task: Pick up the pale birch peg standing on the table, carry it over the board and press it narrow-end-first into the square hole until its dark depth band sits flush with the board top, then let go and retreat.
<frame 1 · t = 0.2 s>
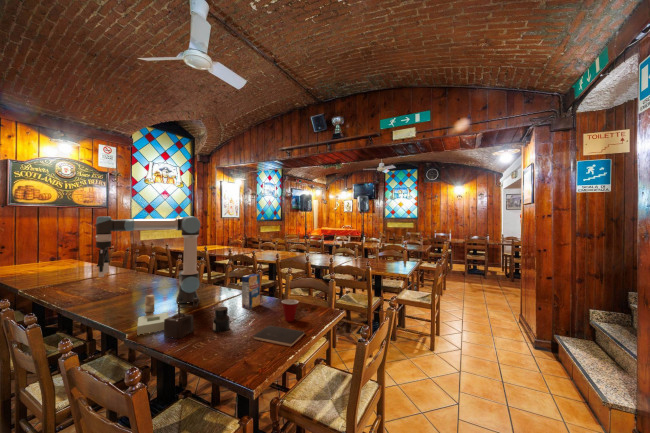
hand: (103, 274, 172), 28 cm above the table, fingers open, 13 cm apart
board: (153, 327, 159), on the table
peg: (149, 319, 171), on the table
hardcover book: (279, 338, 149), on the table
ink bottle: (221, 329, 157), on the table
plastic cup: (290, 320, 173), on the table
blue yellow cereal box: (250, 306, 199), on the table
dark boxy piece: (183, 332, 153), on the table
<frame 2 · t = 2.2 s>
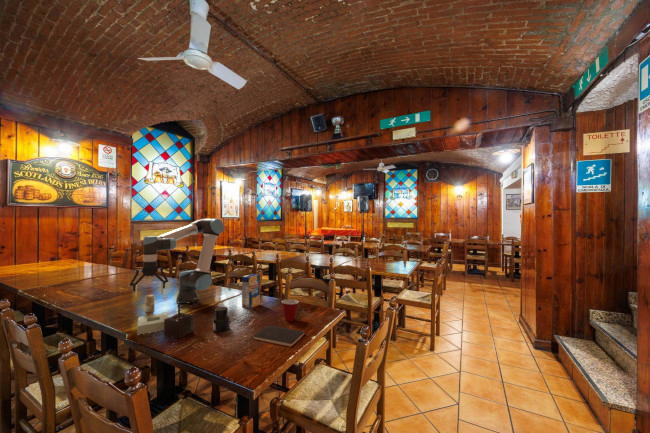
hand: (149, 295, 171), 16 cm above the table, fingers open, 13 cm apart
nothing on the table moved.
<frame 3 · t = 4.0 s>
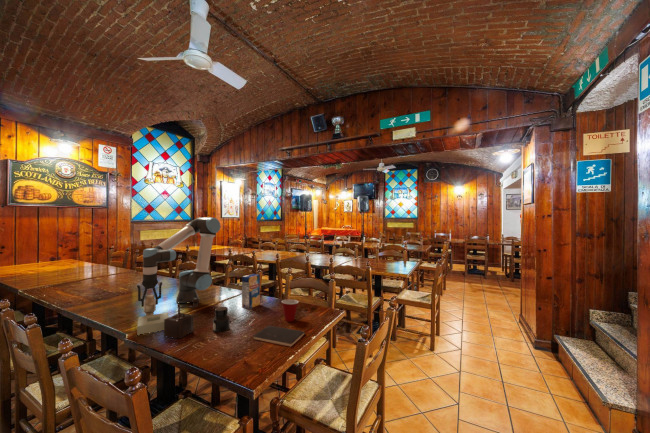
hand: (149, 310, 171), 6 cm above the table, fingers closed on peg, 5 cm apart
peg: (149, 319, 171), on the table, touching gripper
everything else where it was.
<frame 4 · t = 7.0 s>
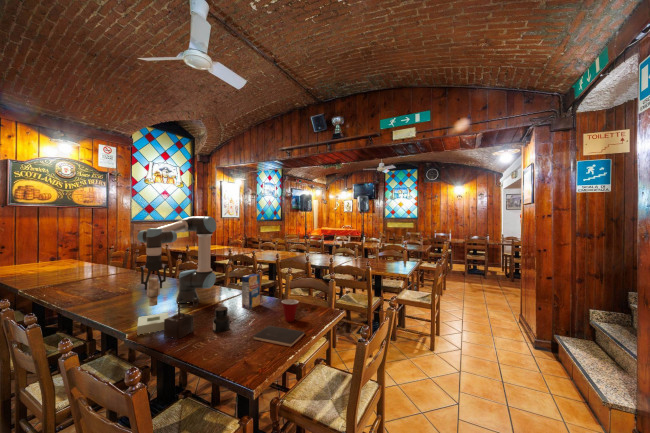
hand: (153, 294, 159), 19 cm above the table, fingers closed on peg, 5 cm apart
peg: (153, 304, 159), point 13 cm above the table, touching gripper
everything else where it was.
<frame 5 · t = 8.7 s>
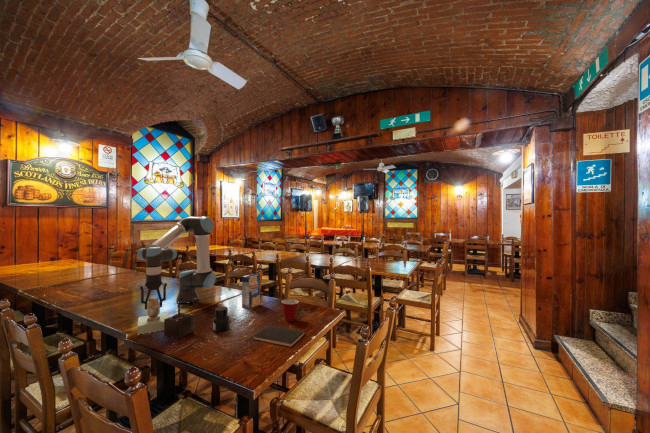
hand: (153, 313, 159), 8 cm above the table, fingers closed on peg, 5 cm apart
peg: (153, 324, 159), point 2 cm above the table, touching gripper
everything else where it was.
when the fingers open (6 cm above the table, at t = 10.0 s): peg stays where it is, resting in board.
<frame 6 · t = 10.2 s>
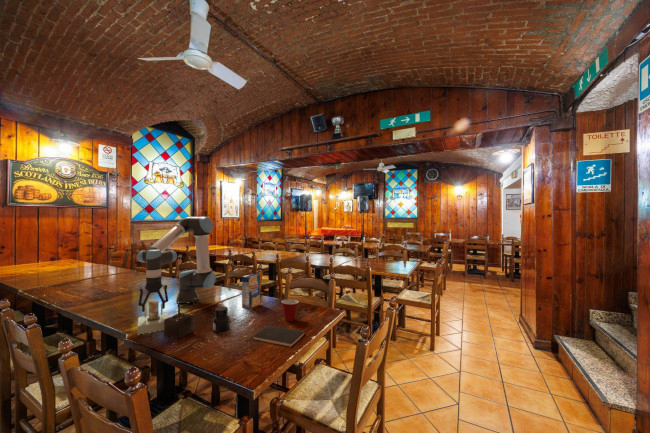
hand: (153, 315, 159), 7 cm above the table, fingers open, 7 cm apart
peg: (153, 327, 159), resting in board
everything else where it was.
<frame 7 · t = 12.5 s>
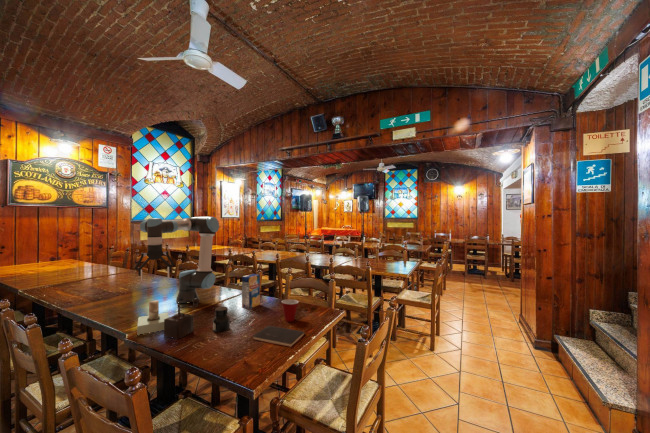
hand: (155, 279, 163), 27 cm above the table, fingers open, 13 cm apart
nothing on the table moved.
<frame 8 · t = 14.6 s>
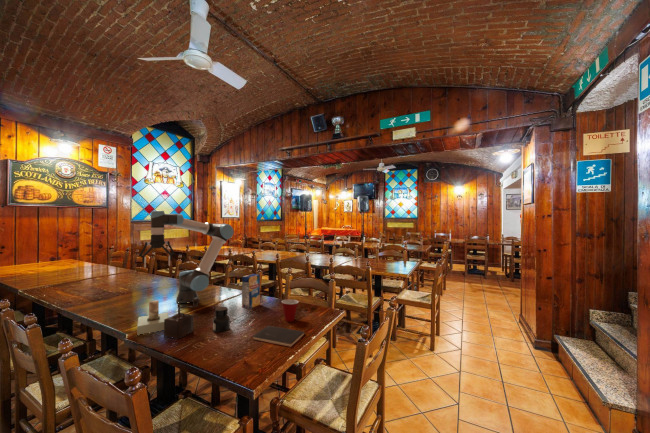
hand: (157, 266, 180), 32 cm above the table, fingers open, 13 cm apart
nothing on the table moved.
at the end: peg 0.1 cm off-centre on the board, point 0.0 cm above the board's base; peg tilted 0°; the gripper is holding nothing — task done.
